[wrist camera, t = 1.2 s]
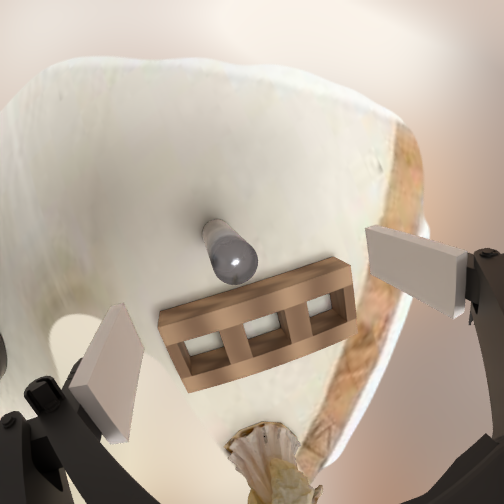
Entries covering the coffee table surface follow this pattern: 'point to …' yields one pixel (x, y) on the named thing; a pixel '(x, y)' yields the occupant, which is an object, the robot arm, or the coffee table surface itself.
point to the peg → (229, 253)
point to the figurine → (271, 465)
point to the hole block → (256, 306)
